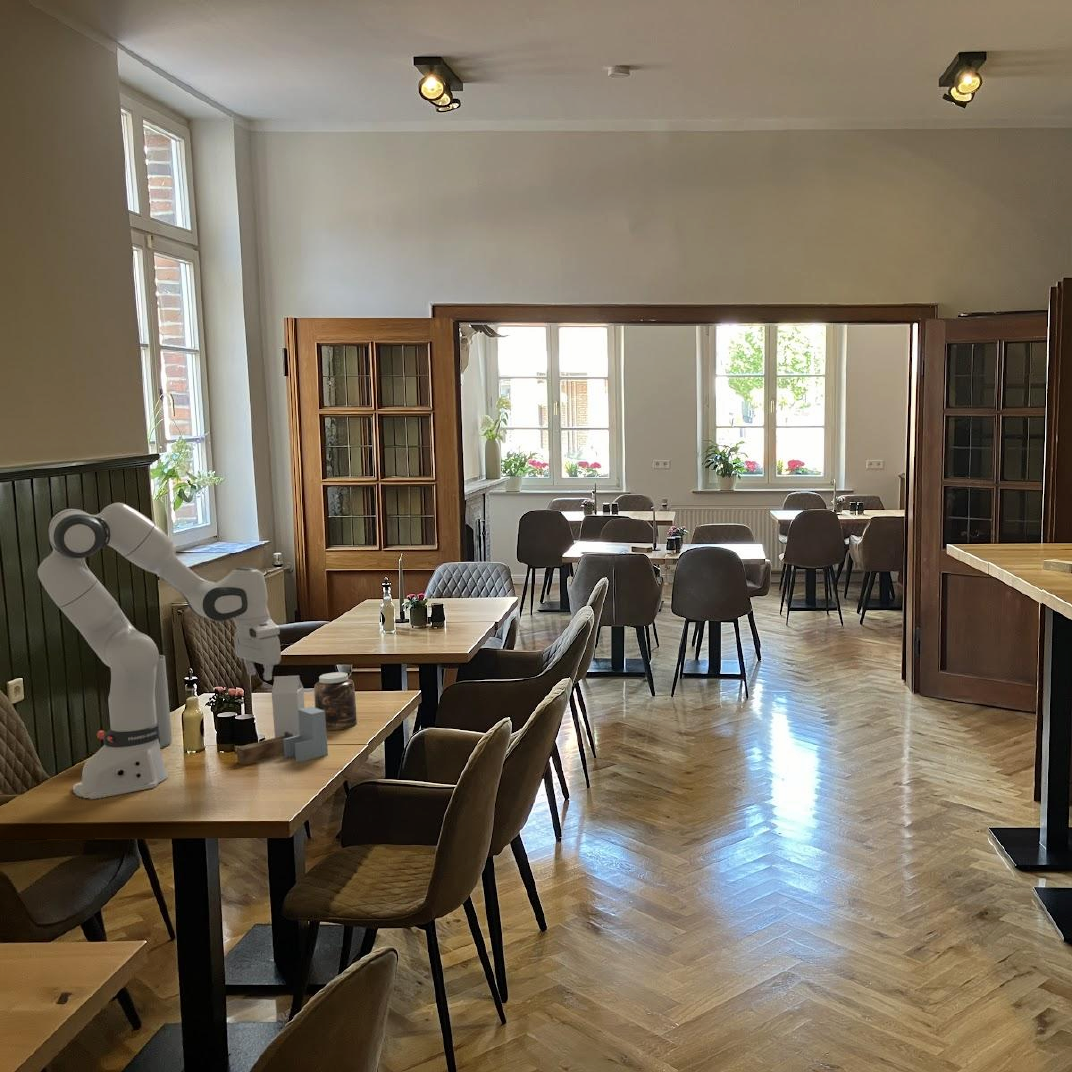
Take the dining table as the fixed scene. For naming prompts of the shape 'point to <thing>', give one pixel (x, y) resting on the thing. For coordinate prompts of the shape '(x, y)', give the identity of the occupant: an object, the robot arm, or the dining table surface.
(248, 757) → the rail
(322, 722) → the blue l-shaped block
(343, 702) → the jar
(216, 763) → the dining table surface
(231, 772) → the dining table surface
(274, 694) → the milk carton
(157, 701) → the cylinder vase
